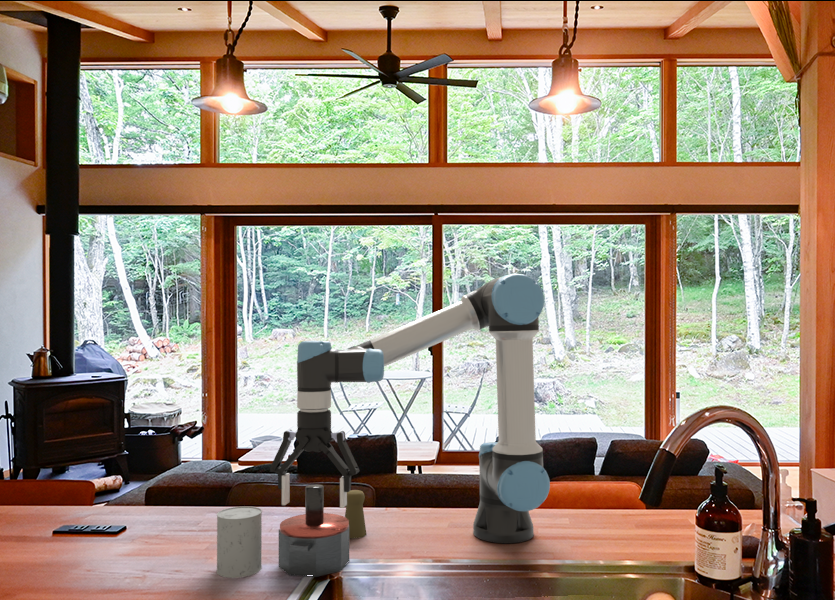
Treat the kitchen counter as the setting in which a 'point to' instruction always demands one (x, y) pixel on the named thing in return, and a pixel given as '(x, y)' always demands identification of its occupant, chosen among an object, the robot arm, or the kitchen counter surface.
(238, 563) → the grey concrete cylinder
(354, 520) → the olive pepper mill
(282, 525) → the lid
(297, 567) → the pot
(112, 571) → the kitchen counter surface
